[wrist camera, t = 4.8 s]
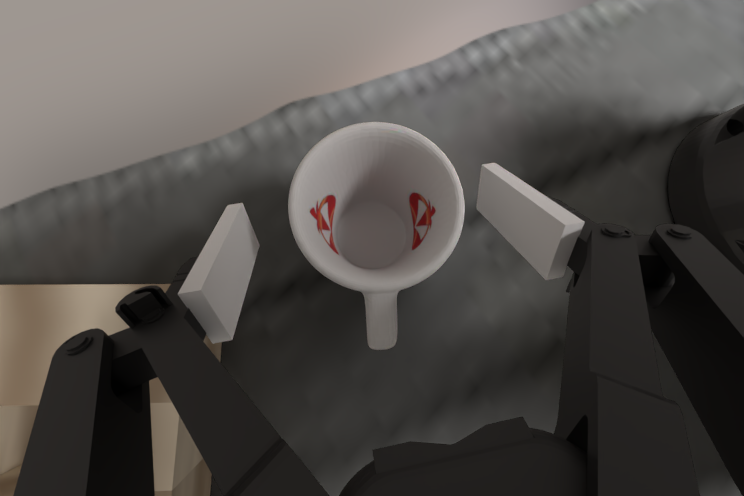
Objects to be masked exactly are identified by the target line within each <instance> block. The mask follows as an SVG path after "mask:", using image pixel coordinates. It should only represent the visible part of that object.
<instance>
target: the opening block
mask: <svg viewBox="0 0 744 496" xmlns="http://www.w3.org/2000/svg"><path fill="white" fill-rule="evenodd" d="M150 285H157V286H159V287H161V289H162V290H163V291H164V293H166V291H167V290H168V288H169V286H170V285H171V284H71V285H0V496H13V495H14V491H15V488H16V484H17V481H18V477H19V474H20V470H21V466H22V463H23V459H24V456H25V452H26V449H27V445H28V442H29V438H30V435H31V431H32V427H33V424H34V420H35V417H36V413H37V410H38V406H39V403H40V399H41V396H42V392H43V388H44V385H45V381H46V378H47V374H48V371H49V367H50V364H51V360H52V357H53V355H54V353H55V351H56V350H57V349H58V348H59V347H60V346H61V345H62V344H63V343H64V342H65V341H66V340H68V339H69V338H71V337H72V336H74V335H77V334H79V333H81V332H83V331H86V330H89V329H95V328H99V329H101V330H103V331H104V332H105V333H106V334H107V335H108V336H109V335H112V334H114V333H117V332H119V331H122V330H124V329H127V328H130V327H129V326H128V325H127V324H126V323H125V322H124V321H123V320H122V319H121V317H120V316H119V315H118V314H117V313H116V312H115V307H116V306H117V304H118V303H119V301H120V300H122V299H123V298H124V297H125V296H126V295H128V294H129V293H131V292H133V291H135V290H137V289H139V288H142V287H145V286H150ZM203 342H204V343H205V344H206V345H207V347H208V348H209V349H210V350H211V352H212V353H213V354H214V355H215V357H216V358H217V359H218V360H219V362H220V359H221V346H222V342H219V343H214V344H212V342H211V341H210V339H209V338H208V336H207V335H206V336H205V339H204V341H203ZM149 388H150V408H151V429H152V449H153V470H154V490H155V496H210V490H211V477H212V474H211V472H210V470H209V468H208V466H207V465H206V463H205V461H204V459H203V457H202V456H201V454H200V452H199V450H198V448H197V447H196V445H195V443H194V441H193V439H192V438H191V436H190V434H189V432H188V430H187V429H186V427H185V425H184V423H183V421H182V419H181V418H180V416H179V414H178V412H177V410H176V409H175V407H174V405H173V403H172V401H171V400H170V398H169V396H168V394H167V392H166V391H165V389H164V387H163V385H162V383H161V382H160V380H159V378H158V377H156V378H154V379H152V380H150V381H149Z"/></svg>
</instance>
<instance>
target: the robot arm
mask: <svg viewBox="0 0 744 496" xmlns="http://www.w3.org/2000/svg"><path fill="white" fill-rule="evenodd" d="M668 195H669V203H670V208H671V212H672V215H673V218H674V221H675V224H676V225H675V224H662V225H658V226H657V227H656V228H655V230H654V232H653V234H652V235H634V234H633V232H631V231H630V230H629V229H627V228H624V227H622V226H619V225H615V224H606V223H603V224H596V223H594V222H593V221H591V220H590V219H588V218H586V217H585V216H583V215H582V214H580V213H579V212H577V211H576V212H575V210H574V209H572V208H571V207H568V205H566V204H565V203H563V202H561V201H560V200H557V199H554V198H551V197H546V196H545V195H543V194H542V193H540V192H539V191H537V190H536V189H534V188H533V187H531V186H530V185H528V184H527V183H525V182H524V181H522V180H521V179H519V178H518V177H516V176H515V175H513V174H512V173H510V172H508V171H507V170H505V169H504V168H502V167H501V166H499V165H498V164H496V163H489V164H482V166H481V174H480V182H479V190H478V197H477V205H476V209H477V210H478V211H479V212H480V213H481V214H482V215H483V216H484V217H485V218H486V219H487V220H488V221H489V222H490V223H491V224H492V225H493V226H494V227H495V228H496V229H497V231H498V232H499V233H500V234H501V235H502V236H503V237H504V238H505V239H506V240H507V241H508V242H509V243H510V244H511V245H512V246H513V247H514V248H515V249H516V250H517V251H518V252H519V253H520V254H521V255H522V256H523V257H524V258H525V259H526V260H527V261H528V262H529V263H530V264H531V265H532V267H533V268H534V269H535V270H536V271H537V272H538V273H539V274H540V275H541V276H542V277H543V278H544V279H545V280H551V279H556V278H561V277H563V276H564V273H565V271H566V268H567V266H568V267H570V268H571V269H572V270H573V271H574V273H573V275H572V278H571V280H570V283H569V285H568V287H567V290H566V292H569V291H570V296H569V307H568V318H567V328H566V339H565V349H564V360H563V370H562V381H561V392H560V402H559V413H558V421H557V425H556V428H555V431H554V434H552V433H549V432H546V431H543V430H538V429H534V428H528V426H527V424H526V422H525V420H524V418H523V417H519V418H514V419H510V420H505V421H501V422H496V423H492V424H487V425H485V426H484V427H482V428H480V429H479V430H477V431H475V432H474V433H472V434H470V435H469V436H467V437H465V438H464V439H462V440H460V441H459V442H457V443H455V444H452V445H447V444H434V443H421V442H406V443H402V444H397V445H393V446H388V447H384V448H379V449H375V450H373V456H374V461H373V462H371V463H369V464H368V465H366V466H365V467H363V468H362V469H361V470H360V471H358V472H357V473H356V474H355V475H354V476H353V477H352V478H351V479H350V481H349V482H348V483H347V485H346V486H345V487H344V488H343V490H342V492H341V493H340V495H339V496H700V494H699V490H698V485H697V480H696V475H695V471H694V466H693V461H692V457H691V452H690V447H689V443H688V438H687V433H686V428H685V424H684V419H683V415H682V412H681V409H680V407H679V406H678V405H677V404H676V402H674V401H672V400H669V399H666V398H664V397H663V394H662V390H661V385H660V379H659V373H658V367H657V361H656V355H655V349H654V344H653V338H652V332H651V329H652V331H653V333H654V335H655V337H656V338H657V340H658V342H659V344H660V346H661V348H662V349H663V351H664V353H665V355H666V357H667V359H668V361H669V362H670V364H671V366H672V368H673V370H674V372H675V373H676V375H677V377H678V379H679V381H680V383H681V385H682V386H683V388H684V390H685V392H686V394H687V396H688V397H689V399H690V401H691V403H692V405H693V407H694V409H695V410H696V412H697V414H698V416H699V418H700V420H701V421H702V423H703V425H704V427H705V429H706V431H707V433H708V434H709V436H710V438H711V440H712V442H713V444H714V445H715V447H716V449H717V451H718V453H719V455H720V457H721V458H722V460H723V462H724V464H725V466H726V468H727V469H728V471H729V473H730V475H731V477H732V479H733V480H734V482H735V484H736V485H737V487H738V489H739V490H740V492H741V494H742V496H744V104H742V105H740V106H737V107H735V108H733V109H731V110H729V111H727V112H725V113H723V114H721V115H719V116H717V117H715V118H713V119H711V120H709V121H707V122H705V123H703V124H701V125H700V126H698V127H697V128H695V129H694V130H693V131H692V132H691V133H690V134H688V135H687V136H686V138H685V139H684V140H683V141H682V143H681V144H680V146H679V147H678V149H677V151H676V153H675V155H674V157H673V160H672V163H671V167H670V171H669V178H668ZM259 246H260V244H259V242H258V239H257V237H256V235H255V232H254V230H253V227H252V225H251V222H250V220H249V218H248V215H247V213H246V210H245V208H244V205H243V203H237V204H231V205H227V207H226V209H225V210H224V212H223V214H222V216H221V218H220V219H219V221H218V223H217V225H216V226H215V228H214V230H213V232H212V234H211V235H210V237H209V239H208V241H207V242H206V244H205V246H204V248H203V250H202V251H201V253H200V255H199V257H194V258H191V259H189V260H188V261H187V262H186V263H185V264H184V265H183V266H182V267H181V268H180V270H179V272H178V273H177V276H175V278H174V280H173V283H171V285H170V286H169V288H168V290H167V291H166V293H164V291H163V290H162V289H161V287H159V286H157V285H150V286H145V287H142V288H139V289H137V290H135V291H133V292H131V293H129V294H128V295H126V296H125V297H124V298H123V299H122V300H120V301H119V303H118V304H117V306H116V307H115V312H116V313H117V314H118V315H119V316H120V317H121V319H122V320H123V321H124V322H125V323H126V324H127V325H128V326H129V327H130V328H127V329H124V330H122V331H119V332H117V333H114V334H112V335H109V336H108V335H107V334H106V333H105V332H104V331H103V330H101V329H99V328H95V329H89V330H86V331H83V332H81V333H79V334H77V335H74V336H72V337H71V338H69V339H68V340H66V341H65V342H64V343H63V344H62V345H61V346H60V347H59V348H58V349H57V350H56V351H55V353H54V355H53V357H52V360H51V364H50V367H49V371H48V374H47V378H46V381H45V385H44V388H43V392H42V396H41V399H40V403H39V406H38V410H37V413H36V417H35V420H34V424H33V427H32V431H31V435H30V438H29V442H28V445H27V449H26V452H25V456H24V459H23V463H22V466H21V470H20V474H19V477H18V481H17V484H16V488H15V491H14V495H13V496H155V490H154V470H153V449H152V429H151V408H150V388H149V381H150V380H152V379H154V378H156V377H158V378H159V380H160V382H161V383H162V385H163V387H164V389H165V391H166V392H167V394H168V396H169V398H170V400H171V401H172V403H173V405H174V407H175V409H176V410H177V412H178V414H179V416H180V418H181V419H182V421H183V423H184V425H185V427H186V429H187V430H188V432H189V434H190V436H191V438H192V439H193V441H194V443H195V445H196V447H197V448H198V450H199V452H200V454H201V456H202V457H203V459H204V461H205V463H206V465H207V466H208V468H209V470H210V472H211V474H212V475H213V477H214V479H215V481H216V483H217V484H218V486H219V488H220V490H221V492H222V494H223V496H329V495H328V493H327V492H326V491H325V490H324V488H323V487H322V486H321V485H320V483H319V482H318V481H317V480H316V479H315V477H314V476H313V475H312V474H311V472H310V471H309V470H308V469H307V467H306V466H305V465H304V464H303V463H302V461H301V460H300V459H299V458H298V456H297V455H296V454H295V453H294V451H293V450H292V449H291V448H290V447H289V445H288V444H287V443H286V442H285V441H284V440H283V439H282V438H281V437H280V436H279V434H278V433H277V432H276V431H275V430H274V428H273V427H272V426H271V425H270V423H269V422H268V421H267V420H266V418H265V417H264V416H263V415H262V413H261V412H260V411H259V410H258V409H257V407H256V406H255V405H254V404H253V402H252V401H251V400H250V399H249V397H248V396H247V395H246V394H245V392H244V391H243V390H242V389H241V387H240V386H239V385H238V384H237V383H236V381H235V380H234V379H233V378H232V376H231V375H230V374H229V373H228V371H227V370H226V369H225V368H224V366H223V365H222V364H221V363H220V362H219V360H218V359H217V358H216V357H215V355H214V354H213V353H212V352H211V350H210V349H209V348H208V347H207V345H206V344H205V343H204V342H203V341H204V339H205V336H206V335H207V336H208V338H209V339H210V341H211V342H212V344H214V343H219V342H224V341H230V340H233V336H234V333H235V329H236V326H237V322H238V319H239V316H240V312H241V309H242V305H243V302H244V298H245V295H246V291H247V288H248V284H249V281H250V277H251V274H252V270H253V267H254V263H255V260H256V257H257V253H258V250H259Z"/></svg>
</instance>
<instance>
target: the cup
mask: <svg viewBox="0 0 744 496" xmlns="http://www.w3.org/2000/svg"><path fill="white" fill-rule="evenodd" d="M464 212H465V205H464V195H463V190H462V186H461V183H460V180H459V177H458V175H457V173H456V171H455V169H454V167H453V165H452V164H451V162H450V160H449V159H448V158H447V157H446V155H445V154H444V153H443V152H442V151H441V150H440V149H439V148H438V147H437V146H436V145H435V144H434V143H433V142H432V141H430V140H429V139H428V138H426V137H424V136H423V135H421V134H420V133H418V132H416V131H414V130H411V129H409V128H406V127H403V126H400V125H396V124H392V123H384V122H365V123H359V124H354V125H350V126H347V127H344V128H341V129H339V130H337V131H335V132H333V133H331V134H329V135H328V136H326V137H325V138H323V139H322V140H321V141H319V142H318V143H317V144H316V145H315V146H314V147H313V148H312V149H311V150H310V151H309V152H308V153H307V154H306V156H305V157H304V158H303V160H302V161H301V163H300V165H299V166H298V168H297V170H296V172H295V175H294V177H293V180H292V183H291V187H290V192H289V198H288V213H289V220H290V226H291V229H292V233H293V235H294V238H295V240H296V243H297V245H298V247H299V248H300V250H301V252H302V253H303V255H304V256H305V257H306V259H307V260H308V261H309V262H310V263H311V264H312V266H313V267H314V268H315V269H316V270H318V271H319V272H320V273H321V274H323V275H324V276H325V277H327V278H328V279H330V280H332V281H333V282H335V283H337V284H339V285H341V286H344V287H346V288H349V289H352V290H356V291H360V292H362V294H363V295H364V299H365V308H366V323H367V342H368V345H369V347H370V348H372V349H375V350H383V349H389V348H391V347H393V346H394V345H395V343H396V341H397V331H398V320H397V294H398V292H399V291H400V290H402V289H406V288H409V287H411V286H413V285H416V284H418V283H420V282H422V281H423V280H425V279H426V278H428V277H429V276H431V275H432V274H433V273H434V272H436V271H437V270H438V269H439V268H440V267H441V266H442V265H443V264H444V263H445V261H446V260H447V259H448V257H449V256H450V255H451V253H452V251H453V250H454V248H455V246H456V244H457V242H458V240H459V237H460V234H461V231H462V227H463V222H464Z"/></svg>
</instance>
